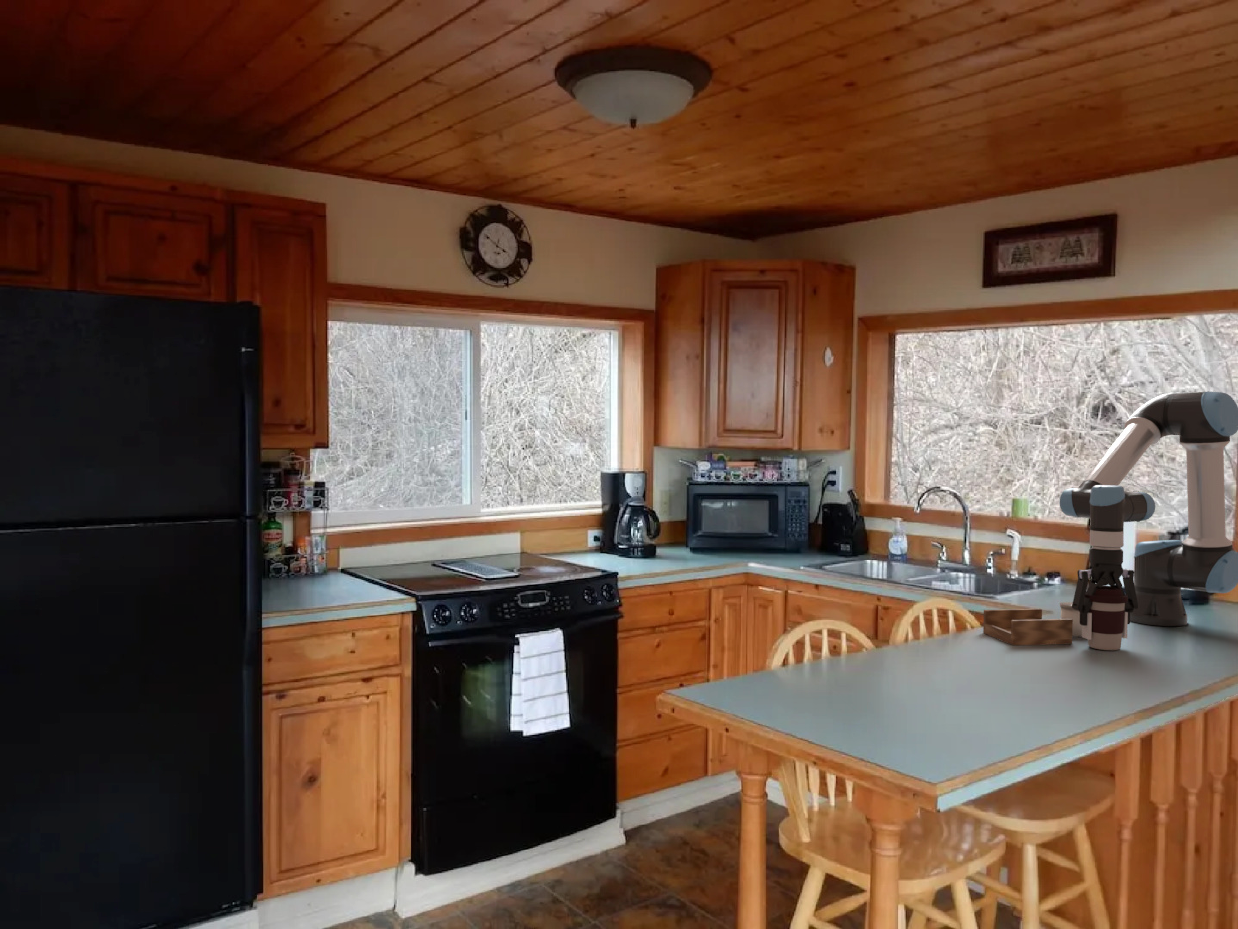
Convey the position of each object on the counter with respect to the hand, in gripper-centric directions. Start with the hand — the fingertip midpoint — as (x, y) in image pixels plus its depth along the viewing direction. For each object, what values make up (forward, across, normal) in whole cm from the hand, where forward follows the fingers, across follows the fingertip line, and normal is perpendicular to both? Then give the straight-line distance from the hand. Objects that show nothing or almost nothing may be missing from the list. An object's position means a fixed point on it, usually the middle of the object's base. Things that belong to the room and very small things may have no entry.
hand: (1104, 637), depth 242 cm
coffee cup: (+3, 0, 0) cm, 3 cm away
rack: (+3, +13, -13) cm, 19 cm away
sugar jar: (+3, -3, -17) cm, 17 cm away
